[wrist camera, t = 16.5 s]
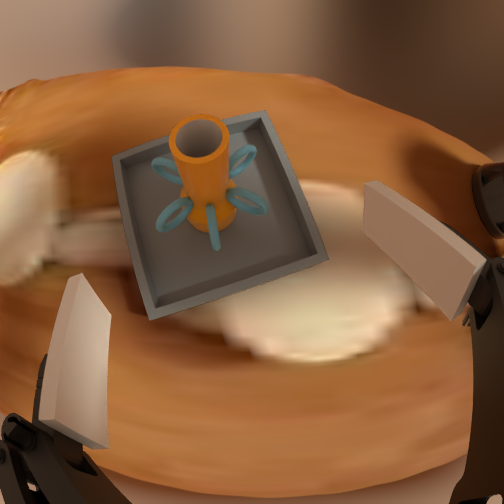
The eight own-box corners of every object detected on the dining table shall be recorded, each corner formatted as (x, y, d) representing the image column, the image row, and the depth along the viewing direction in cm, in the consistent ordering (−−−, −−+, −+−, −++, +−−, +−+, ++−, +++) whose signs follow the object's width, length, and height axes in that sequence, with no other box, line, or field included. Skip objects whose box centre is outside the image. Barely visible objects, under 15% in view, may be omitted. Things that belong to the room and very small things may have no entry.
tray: (262, 125, 35) (265, 109, 31) (318, 263, 32) (328, 259, 29) (120, 168, 32) (111, 156, 29) (157, 318, 30) (149, 320, 26)
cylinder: (266, 252, 31) (299, 211, 16) (174, 268, 30) (127, 241, 15) (246, 156, 33) (259, 70, 18) (163, 170, 32) (127, 90, 17)
